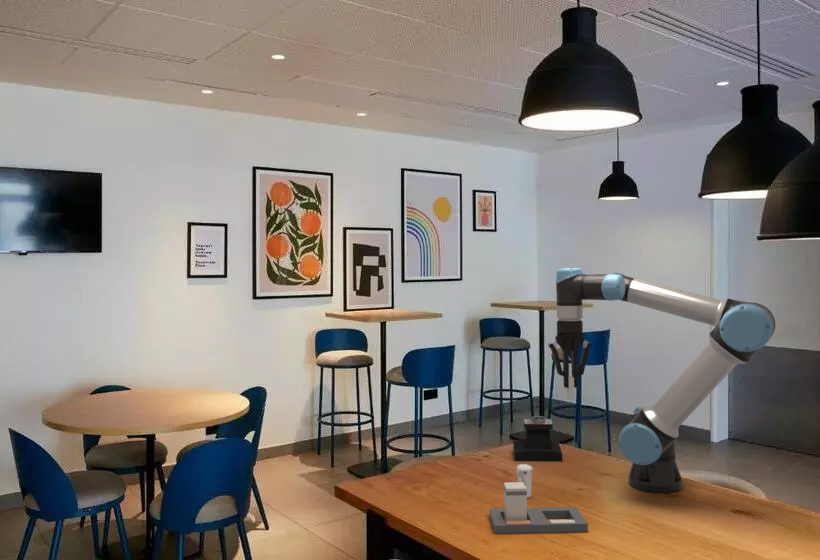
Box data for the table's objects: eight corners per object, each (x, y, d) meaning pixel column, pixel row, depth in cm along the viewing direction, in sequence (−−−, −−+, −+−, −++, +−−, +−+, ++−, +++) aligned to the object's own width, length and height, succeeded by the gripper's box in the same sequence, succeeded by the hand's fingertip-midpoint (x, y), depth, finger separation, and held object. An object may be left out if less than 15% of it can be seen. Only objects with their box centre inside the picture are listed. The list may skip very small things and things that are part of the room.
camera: (514, 423, 231) (512, 409, 246) (514, 464, 233) (512, 448, 248) (562, 423, 230) (557, 410, 245) (562, 464, 231) (557, 449, 246)
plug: (523, 520, 178) (523, 482, 178) (527, 527, 173) (526, 488, 173) (504, 520, 178) (503, 482, 178) (507, 528, 173) (506, 488, 173)
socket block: (575, 514, 182) (575, 505, 182) (587, 531, 170) (587, 522, 170) (489, 516, 182) (489, 507, 182) (495, 533, 170) (495, 524, 170)
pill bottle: (535, 499, 194) (535, 464, 194) (516, 498, 195) (516, 463, 195) (536, 494, 199) (535, 459, 198) (517, 493, 200) (516, 459, 200)
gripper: (588, 318, 208) (588, 395, 208) (545, 319, 208) (546, 396, 208) (594, 320, 200) (595, 400, 201) (550, 321, 200) (551, 401, 201)
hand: (570, 398), depth 205 cm, fingers closed
